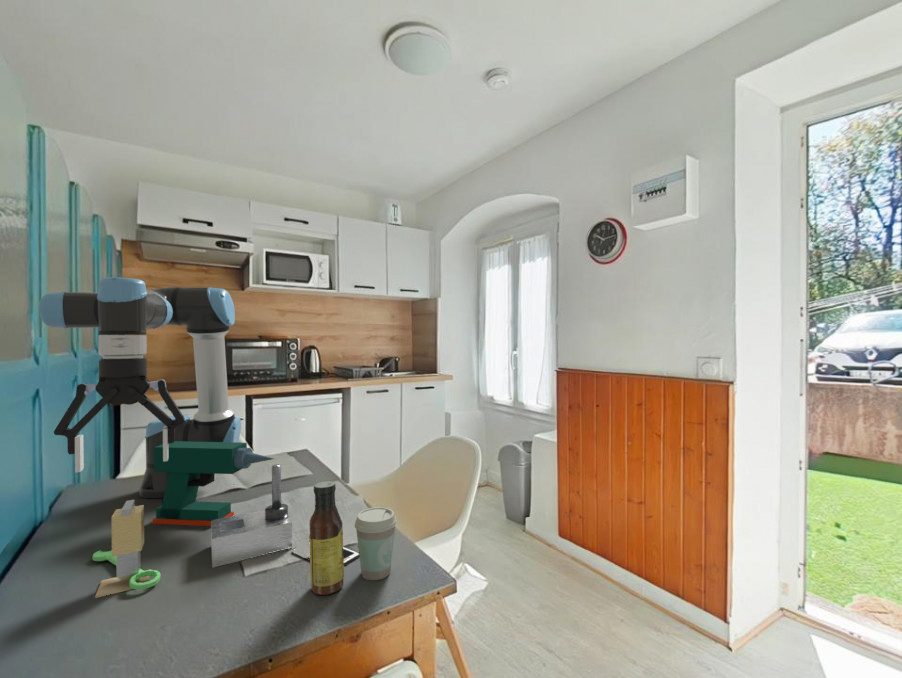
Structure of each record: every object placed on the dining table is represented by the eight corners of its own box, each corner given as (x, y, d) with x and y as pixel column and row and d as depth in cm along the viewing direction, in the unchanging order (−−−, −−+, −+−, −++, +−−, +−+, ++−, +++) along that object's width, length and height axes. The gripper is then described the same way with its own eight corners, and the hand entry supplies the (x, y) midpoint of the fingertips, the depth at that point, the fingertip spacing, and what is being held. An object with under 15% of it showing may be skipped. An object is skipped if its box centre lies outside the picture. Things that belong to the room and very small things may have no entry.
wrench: (118, 551, 98) (88, 561, 94) (118, 543, 98) (89, 552, 94) (166, 581, 84) (134, 594, 80) (166, 571, 84) (134, 583, 80)
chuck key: (116, 568, 86) (116, 502, 86) (144, 562, 88) (144, 497, 89) (111, 582, 81) (110, 512, 81) (141, 575, 83) (140, 507, 83)
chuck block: (211, 546, 100) (210, 468, 100) (284, 530, 108) (283, 458, 108) (212, 567, 90) (211, 482, 90) (292, 548, 98) (291, 470, 98)
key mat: (101, 582, 85) (101, 580, 85) (150, 571, 89) (150, 569, 89) (95, 598, 80) (95, 596, 80) (147, 585, 84) (147, 583, 84)
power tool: (282, 516, 116) (281, 442, 116) (268, 528, 109) (268, 449, 109) (172, 512, 119) (172, 440, 119) (152, 523, 112) (152, 447, 112)
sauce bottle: (350, 586, 83) (349, 484, 83) (321, 601, 78) (320, 492, 78) (332, 574, 87) (331, 476, 87) (303, 587, 83) (302, 484, 83)
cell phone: (318, 540, 103) (318, 536, 103) (362, 557, 95) (362, 553, 95) (290, 553, 96) (290, 549, 96) (334, 573, 88) (334, 568, 88)
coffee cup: (377, 589, 82) (377, 526, 82) (345, 576, 86) (345, 517, 86) (405, 569, 89) (405, 511, 89) (374, 558, 94) (374, 503, 94)
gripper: (30, 360, 75) (32, 481, 75) (196, 356, 87) (197, 460, 87) (44, 358, 81) (45, 469, 81) (197, 354, 94) (198, 451, 94)
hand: (124, 465), depth 84 cm, fingers open, 13 cm apart
